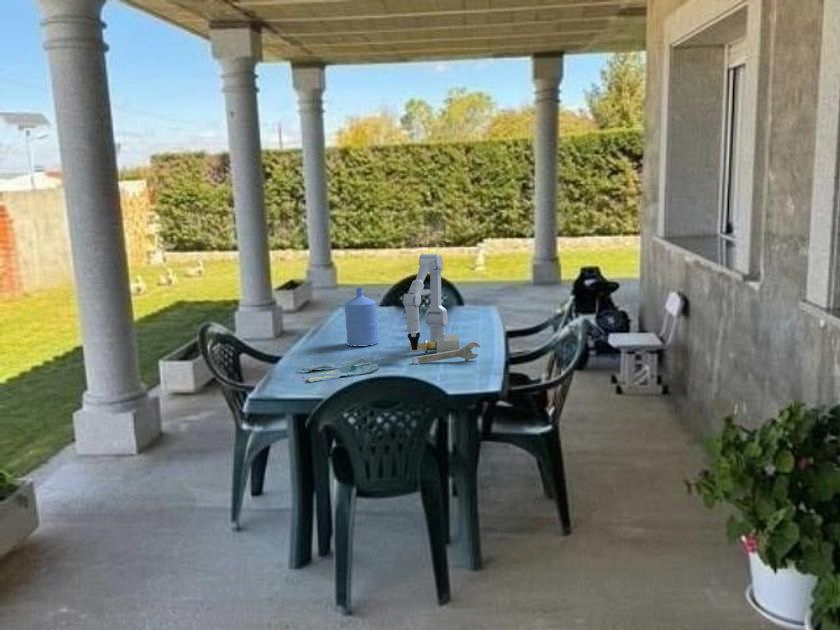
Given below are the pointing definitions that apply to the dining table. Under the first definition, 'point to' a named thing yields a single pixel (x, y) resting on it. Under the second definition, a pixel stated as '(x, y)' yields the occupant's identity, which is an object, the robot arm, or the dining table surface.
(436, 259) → the robot arm
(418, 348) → the gold trophy
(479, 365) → the dining table surface
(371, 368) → the rubber gloves
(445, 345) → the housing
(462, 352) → the wrench
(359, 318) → the water jug
